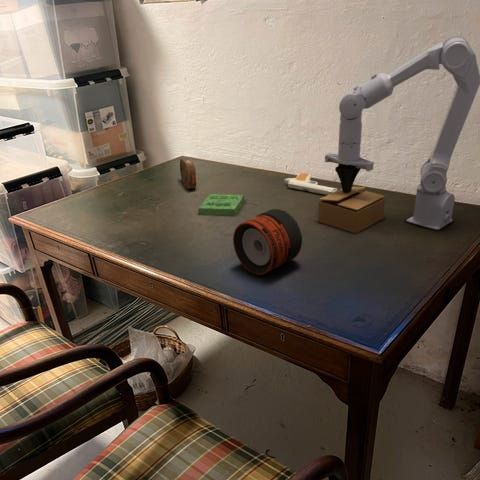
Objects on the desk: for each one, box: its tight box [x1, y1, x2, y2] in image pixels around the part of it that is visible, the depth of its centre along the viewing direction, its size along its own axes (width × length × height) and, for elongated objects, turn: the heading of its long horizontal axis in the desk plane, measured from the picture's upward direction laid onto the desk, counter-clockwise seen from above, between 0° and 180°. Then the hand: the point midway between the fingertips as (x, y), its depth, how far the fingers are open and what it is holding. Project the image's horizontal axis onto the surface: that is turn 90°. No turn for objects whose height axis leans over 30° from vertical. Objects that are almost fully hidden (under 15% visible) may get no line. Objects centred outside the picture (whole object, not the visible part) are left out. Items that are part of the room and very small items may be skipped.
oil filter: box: [232, 208, 303, 276], centre depth 120 cm, size 13×12×13 cm
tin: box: [179, 158, 197, 190], centre depth 175 cm, size 15×3×8 cm, turn 17°
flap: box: [318, 186, 366, 201], centre depth 141 cm, size 6×13×1 cm, turn 133°
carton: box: [317, 190, 386, 234], centre depth 141 cm, size 13×13×7 cm
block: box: [333, 199, 352, 210], centre depth 144 cm, size 4×4×4 cm
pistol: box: [283, 172, 339, 196], centre depth 167 cm, size 2×20×11 cm
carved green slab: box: [197, 193, 245, 216], centre depth 157 cm, size 11×12×2 cm
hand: (346, 191), depth 141 cm, fingers closed
